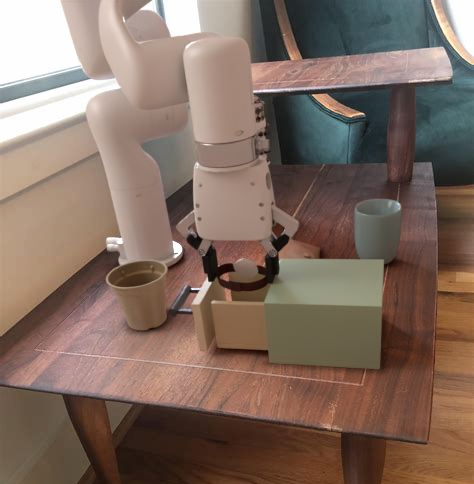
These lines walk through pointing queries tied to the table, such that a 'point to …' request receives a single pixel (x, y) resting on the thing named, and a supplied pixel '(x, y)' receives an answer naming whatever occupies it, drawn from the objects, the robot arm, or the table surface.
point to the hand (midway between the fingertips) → (242, 277)
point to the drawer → (226, 314)
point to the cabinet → (326, 313)
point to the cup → (377, 229)
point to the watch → (244, 269)
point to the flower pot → (141, 292)
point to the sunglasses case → (299, 251)
